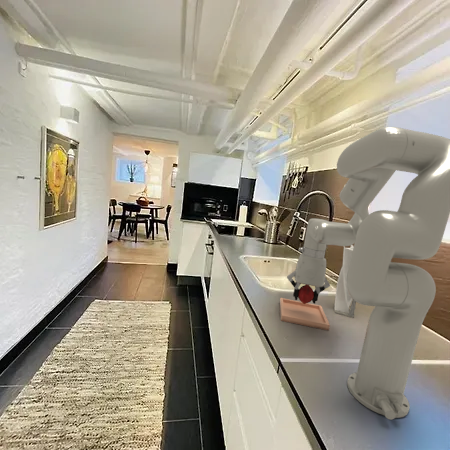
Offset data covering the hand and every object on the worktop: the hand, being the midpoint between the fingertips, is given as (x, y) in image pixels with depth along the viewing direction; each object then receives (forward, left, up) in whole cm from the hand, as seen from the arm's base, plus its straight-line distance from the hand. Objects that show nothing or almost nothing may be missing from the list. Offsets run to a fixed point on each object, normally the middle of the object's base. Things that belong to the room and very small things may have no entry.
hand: (304, 300), depth 99 cm
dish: (0, 0, -6) cm, 6 cm away
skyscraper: (+12, -17, -6) cm, 22 cm away
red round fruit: (0, 0, -2) cm, 2 cm away
